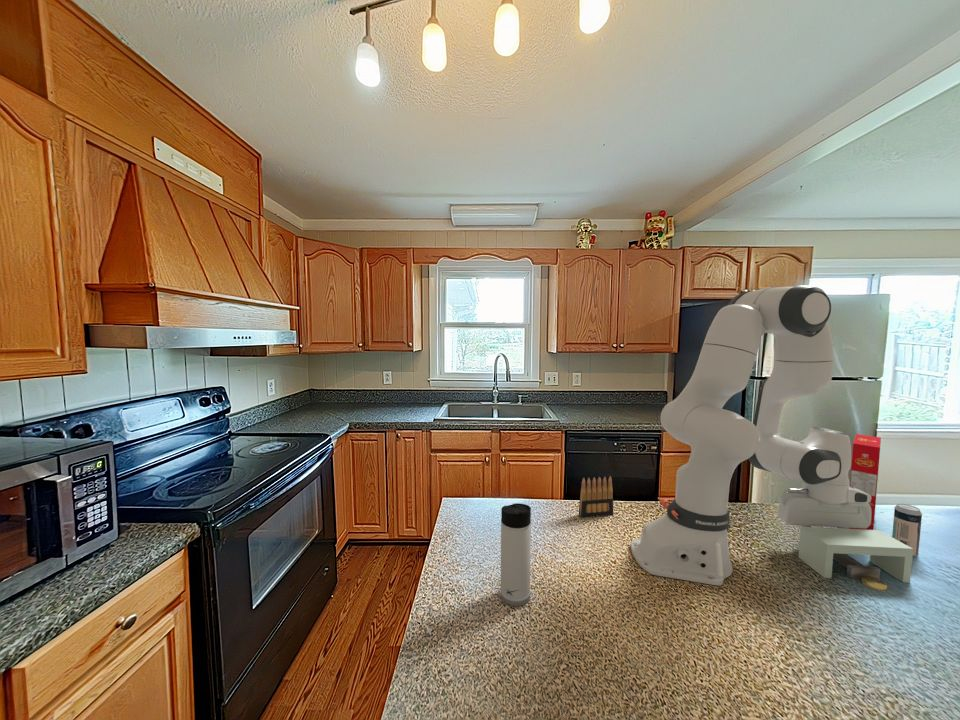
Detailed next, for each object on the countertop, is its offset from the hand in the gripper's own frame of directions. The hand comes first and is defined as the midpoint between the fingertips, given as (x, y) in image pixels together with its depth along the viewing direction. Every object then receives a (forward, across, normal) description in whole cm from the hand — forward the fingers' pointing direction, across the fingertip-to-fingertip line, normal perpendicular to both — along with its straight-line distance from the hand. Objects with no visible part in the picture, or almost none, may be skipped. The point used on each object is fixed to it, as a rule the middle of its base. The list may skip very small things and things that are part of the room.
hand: (821, 541), depth 99 cm
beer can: (+2, +20, 0) cm, 20 cm away
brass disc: (+2, 0, -15) cm, 15 cm away
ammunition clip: (+2, -55, +13) cm, 57 cm away
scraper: (+2, 0, -5) cm, 5 cm away
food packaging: (+2, +23, +16) cm, 28 cm away
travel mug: (+2, -80, -26) cm, 84 cm away
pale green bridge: (+2, 0, -9) cm, 9 cm away
